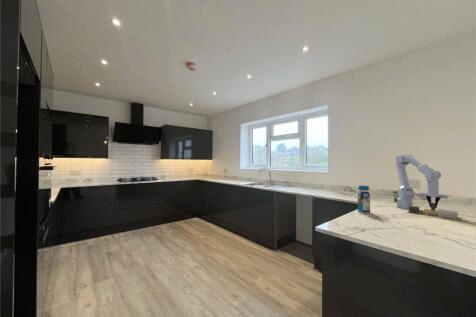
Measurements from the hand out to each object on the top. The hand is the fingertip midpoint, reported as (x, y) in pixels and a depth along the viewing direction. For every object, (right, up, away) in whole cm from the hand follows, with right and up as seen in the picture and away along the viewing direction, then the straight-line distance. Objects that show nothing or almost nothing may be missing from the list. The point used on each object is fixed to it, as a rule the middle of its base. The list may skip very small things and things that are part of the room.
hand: (433, 207), depth 141 cm
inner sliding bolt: (+2, -4, -3) cm, 6 cm away
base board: (0, -6, 0) cm, 6 cm away
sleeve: (+5, -5, -5) cm, 9 cm away
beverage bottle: (-41, -7, +13) cm, 43 cm away
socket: (-6, -6, +7) cm, 11 cm away
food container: (+18, -7, +52) cm, 55 cm away
